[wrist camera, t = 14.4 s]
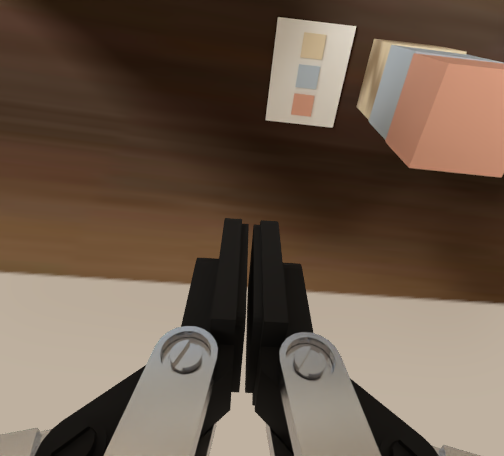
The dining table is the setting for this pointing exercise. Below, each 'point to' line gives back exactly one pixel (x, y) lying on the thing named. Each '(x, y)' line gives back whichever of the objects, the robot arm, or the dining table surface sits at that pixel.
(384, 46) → the maple brick
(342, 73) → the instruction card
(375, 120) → the slate blue brick
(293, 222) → the dining table surface
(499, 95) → the terracotta brick
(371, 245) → the dining table surface
